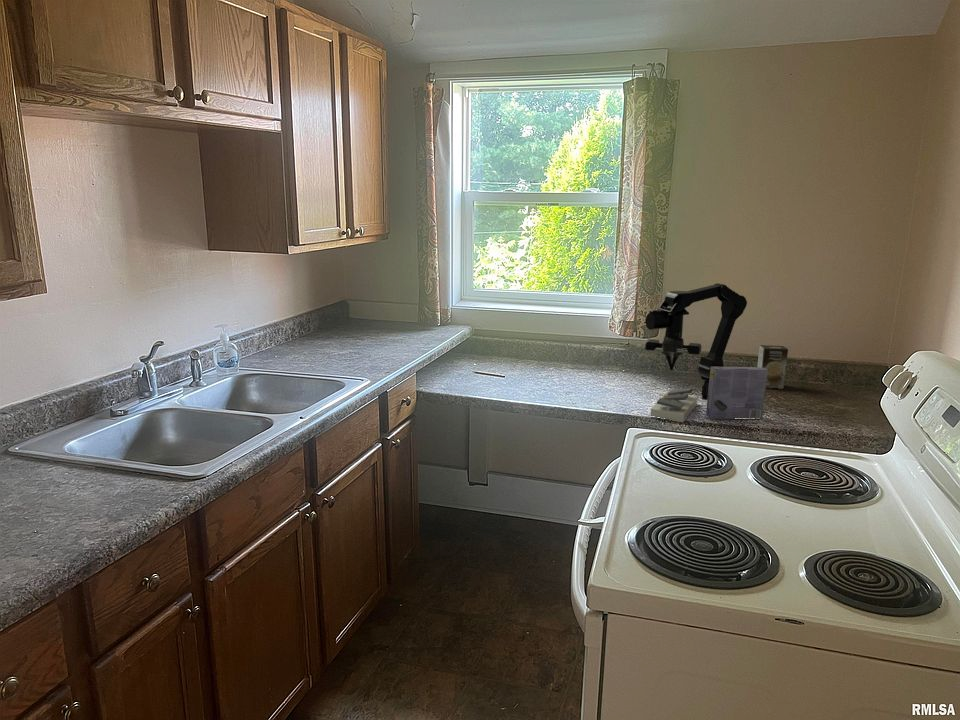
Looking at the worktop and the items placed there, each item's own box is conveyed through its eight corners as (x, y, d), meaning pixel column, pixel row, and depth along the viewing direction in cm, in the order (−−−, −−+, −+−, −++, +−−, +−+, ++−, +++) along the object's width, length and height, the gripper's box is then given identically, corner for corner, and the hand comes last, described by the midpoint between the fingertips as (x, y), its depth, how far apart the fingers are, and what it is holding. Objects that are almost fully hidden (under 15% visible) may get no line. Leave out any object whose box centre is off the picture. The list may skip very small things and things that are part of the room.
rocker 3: (682, 406, 233) (683, 403, 233) (680, 409, 230) (680, 407, 229) (659, 400, 236) (660, 397, 236) (656, 403, 233) (657, 400, 233)
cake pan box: (759, 415, 236) (765, 365, 232) (766, 420, 231) (771, 369, 227) (704, 415, 236) (709, 365, 231) (709, 420, 231) (714, 369, 226)
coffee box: (759, 388, 268) (763, 348, 264) (754, 383, 275) (758, 344, 271) (783, 389, 267) (788, 349, 264) (778, 384, 274) (783, 345, 270)
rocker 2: (688, 396, 240) (687, 394, 239) (685, 399, 236) (685, 397, 236) (665, 398, 244) (664, 395, 243) (662, 401, 240) (662, 398, 240)
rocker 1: (692, 390, 246) (692, 387, 246) (690, 393, 243) (689, 390, 243) (670, 393, 250) (669, 390, 250) (667, 396, 247) (667, 393, 247)
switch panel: (696, 404, 248) (697, 392, 247) (683, 422, 228) (684, 409, 227) (666, 399, 253) (667, 388, 252) (650, 417, 233) (651, 404, 232)
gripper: (642, 329, 240) (640, 372, 243) (698, 334, 232) (695, 378, 236) (649, 323, 249) (647, 365, 253) (702, 327, 242) (699, 370, 245)
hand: (671, 370), depth 247 cm, fingers closed
